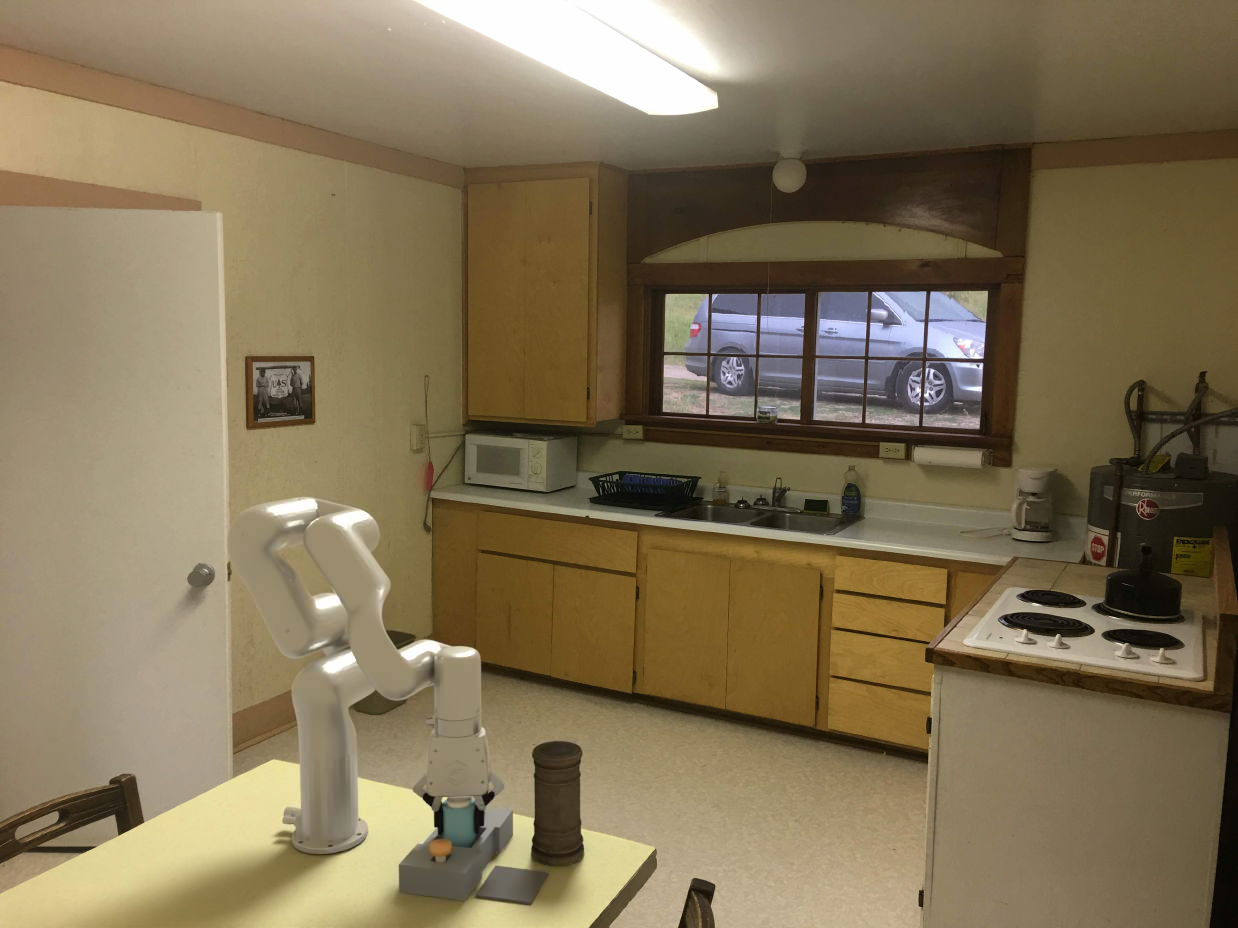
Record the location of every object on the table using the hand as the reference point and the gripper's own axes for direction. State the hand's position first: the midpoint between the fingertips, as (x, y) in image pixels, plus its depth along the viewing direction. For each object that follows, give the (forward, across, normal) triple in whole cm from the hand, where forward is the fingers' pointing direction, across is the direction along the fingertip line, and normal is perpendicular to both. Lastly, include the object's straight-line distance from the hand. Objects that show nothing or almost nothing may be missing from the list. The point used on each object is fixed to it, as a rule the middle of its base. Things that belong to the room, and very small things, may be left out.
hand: (459, 829), depth 154 cm
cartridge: (+6, 0, 0) cm, 6 cm away
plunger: (+5, -2, -7) cm, 9 cm away
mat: (+6, +9, -8) cm, 13 cm away
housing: (+6, 0, 0) cm, 6 cm away
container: (+6, +16, +2) cm, 17 cm away
